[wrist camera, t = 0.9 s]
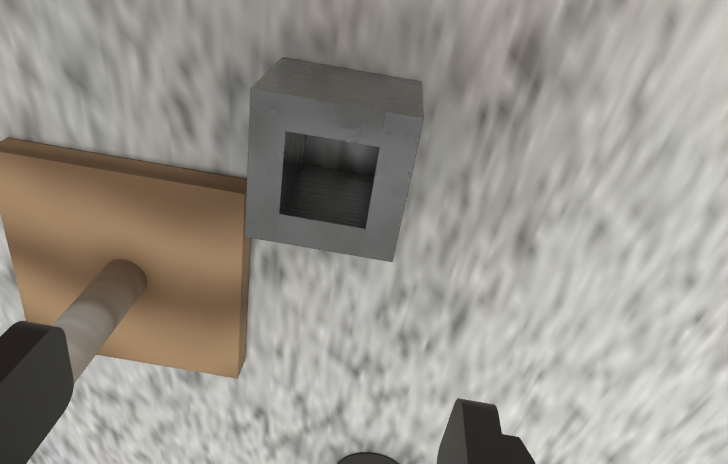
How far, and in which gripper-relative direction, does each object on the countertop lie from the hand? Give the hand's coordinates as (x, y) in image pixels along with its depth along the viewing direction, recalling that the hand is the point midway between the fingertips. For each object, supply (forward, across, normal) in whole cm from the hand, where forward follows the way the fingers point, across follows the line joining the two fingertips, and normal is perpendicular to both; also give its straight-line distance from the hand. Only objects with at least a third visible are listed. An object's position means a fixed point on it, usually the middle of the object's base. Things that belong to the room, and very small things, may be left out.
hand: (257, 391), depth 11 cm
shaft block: (+15, +10, +9) cm, 20 cm away
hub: (+15, 0, 0) cm, 15 cm away
